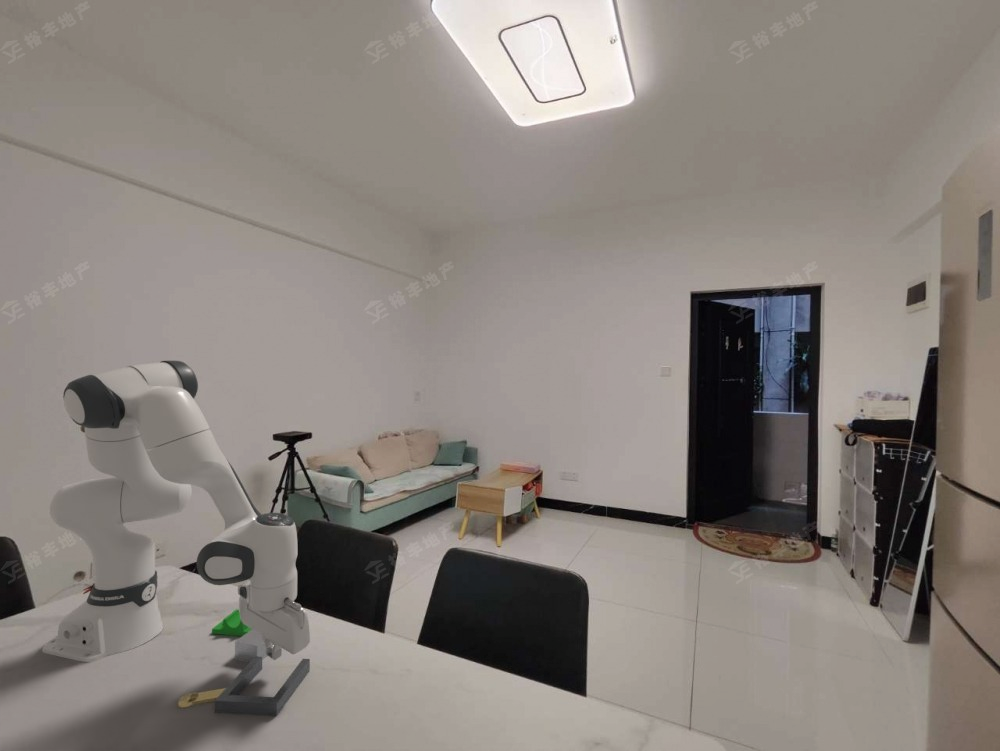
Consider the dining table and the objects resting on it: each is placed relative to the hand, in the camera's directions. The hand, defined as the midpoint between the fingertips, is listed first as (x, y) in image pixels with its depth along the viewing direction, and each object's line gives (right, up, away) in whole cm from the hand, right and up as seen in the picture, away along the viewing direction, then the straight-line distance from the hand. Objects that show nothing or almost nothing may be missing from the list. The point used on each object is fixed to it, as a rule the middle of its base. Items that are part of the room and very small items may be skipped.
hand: (273, 656), depth 91 cm
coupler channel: (+1, -5, -5) cm, 6 cm away
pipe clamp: (-18, -1, +20) cm, 27 cm away
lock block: (-8, -5, +7) cm, 11 cm away
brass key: (-9, -4, -7) cm, 12 cm away
